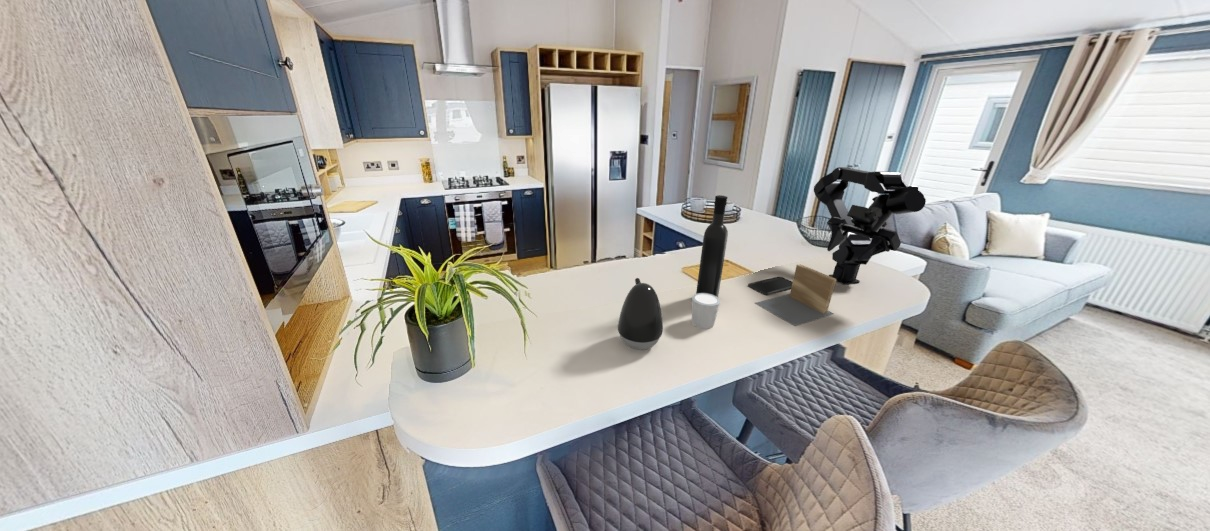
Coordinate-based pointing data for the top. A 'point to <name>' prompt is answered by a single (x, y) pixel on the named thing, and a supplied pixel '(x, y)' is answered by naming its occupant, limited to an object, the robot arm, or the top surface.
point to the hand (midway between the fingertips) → (842, 255)
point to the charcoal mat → (791, 310)
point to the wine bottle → (713, 251)
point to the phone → (771, 285)
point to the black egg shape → (641, 317)
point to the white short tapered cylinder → (704, 310)
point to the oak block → (812, 288)
